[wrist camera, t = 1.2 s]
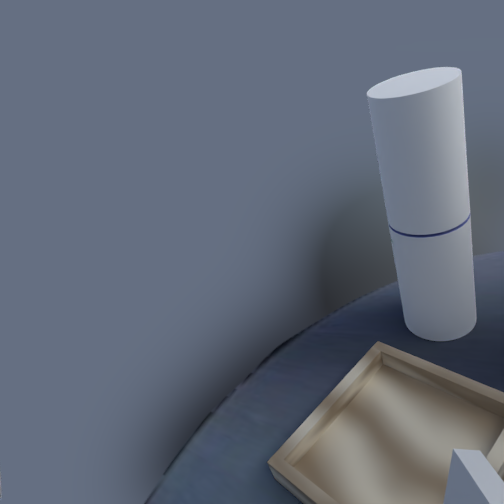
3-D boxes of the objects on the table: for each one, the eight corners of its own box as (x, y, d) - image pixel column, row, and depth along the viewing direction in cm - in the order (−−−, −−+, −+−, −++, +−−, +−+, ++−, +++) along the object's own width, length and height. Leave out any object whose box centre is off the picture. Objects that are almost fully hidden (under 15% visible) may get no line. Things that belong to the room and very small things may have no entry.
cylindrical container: (426, 350, 44) (392, 103, 32) (392, 310, 50) (352, 92, 38) (492, 325, 44) (482, 70, 32) (450, 288, 50) (428, 64, 38)
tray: (381, 358, 45) (377, 341, 43) (535, 425, 34) (535, 405, 33) (274, 478, 37) (267, 462, 36) (431, 612, 27) (427, 595, 25)
